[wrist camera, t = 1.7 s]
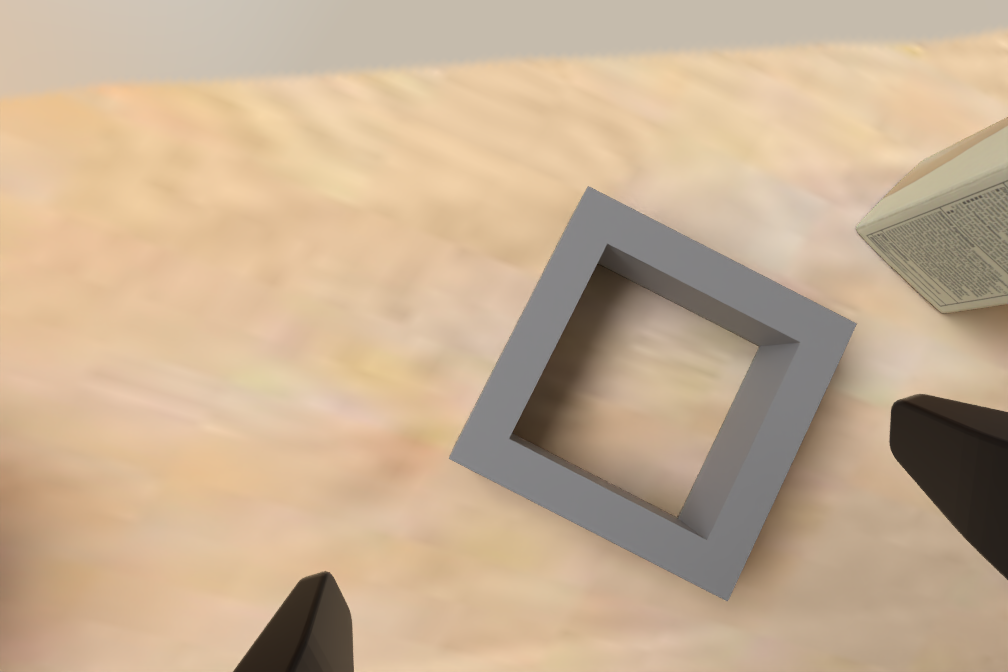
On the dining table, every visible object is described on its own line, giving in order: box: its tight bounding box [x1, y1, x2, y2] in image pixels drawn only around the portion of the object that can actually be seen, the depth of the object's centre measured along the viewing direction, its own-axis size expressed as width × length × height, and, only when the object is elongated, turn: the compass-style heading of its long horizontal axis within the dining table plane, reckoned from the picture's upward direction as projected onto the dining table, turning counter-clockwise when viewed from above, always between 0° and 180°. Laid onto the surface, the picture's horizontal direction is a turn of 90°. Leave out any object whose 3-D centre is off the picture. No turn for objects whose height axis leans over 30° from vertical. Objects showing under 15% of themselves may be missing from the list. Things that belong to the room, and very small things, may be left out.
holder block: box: [449, 186, 856, 601], centre depth 21 cm, size 10×10×3 cm
